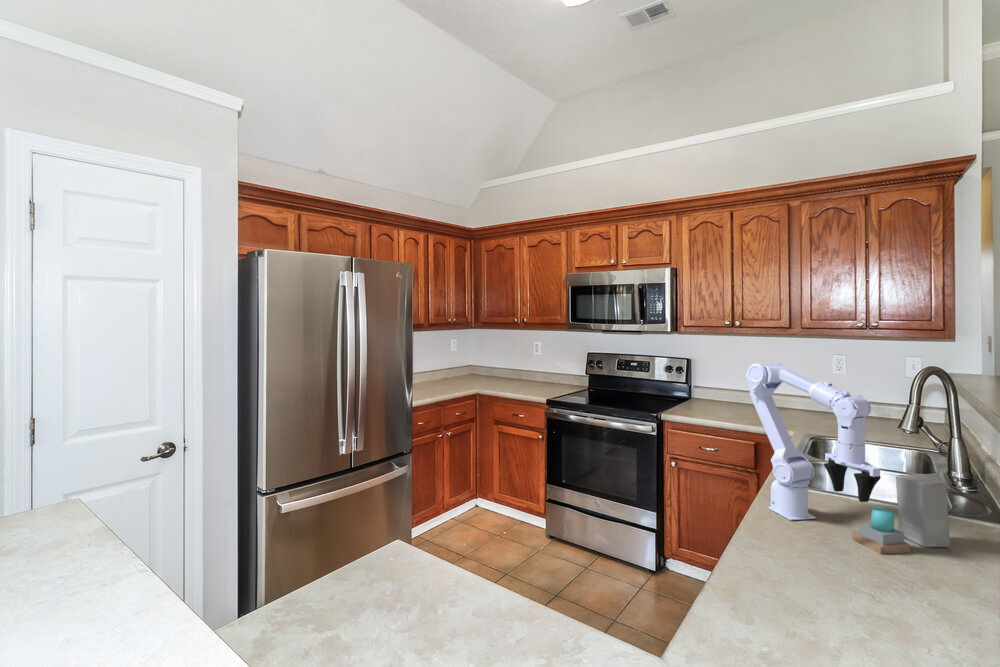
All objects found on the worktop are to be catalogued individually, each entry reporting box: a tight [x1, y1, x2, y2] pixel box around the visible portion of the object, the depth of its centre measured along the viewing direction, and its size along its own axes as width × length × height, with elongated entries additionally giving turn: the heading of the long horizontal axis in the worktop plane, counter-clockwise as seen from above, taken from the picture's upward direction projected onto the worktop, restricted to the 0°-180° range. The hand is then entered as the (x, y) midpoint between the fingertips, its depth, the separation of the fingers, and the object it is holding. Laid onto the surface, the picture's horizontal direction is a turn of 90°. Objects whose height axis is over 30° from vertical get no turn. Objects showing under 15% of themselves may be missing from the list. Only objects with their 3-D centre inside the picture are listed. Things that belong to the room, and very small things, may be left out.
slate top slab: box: [859, 523, 905, 545], centre depth 121 cm, size 6×6×2 cm
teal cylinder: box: [870, 506, 895, 532], centre depth 121 cm, size 4×4×4 cm
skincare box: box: [895, 474, 951, 548], centre depth 124 cm, size 8×7×16 cm
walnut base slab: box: [851, 531, 911, 555], centre depth 121 cm, size 8×8×2 cm
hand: (850, 496), depth 126 cm, fingers open, 7 cm apart
